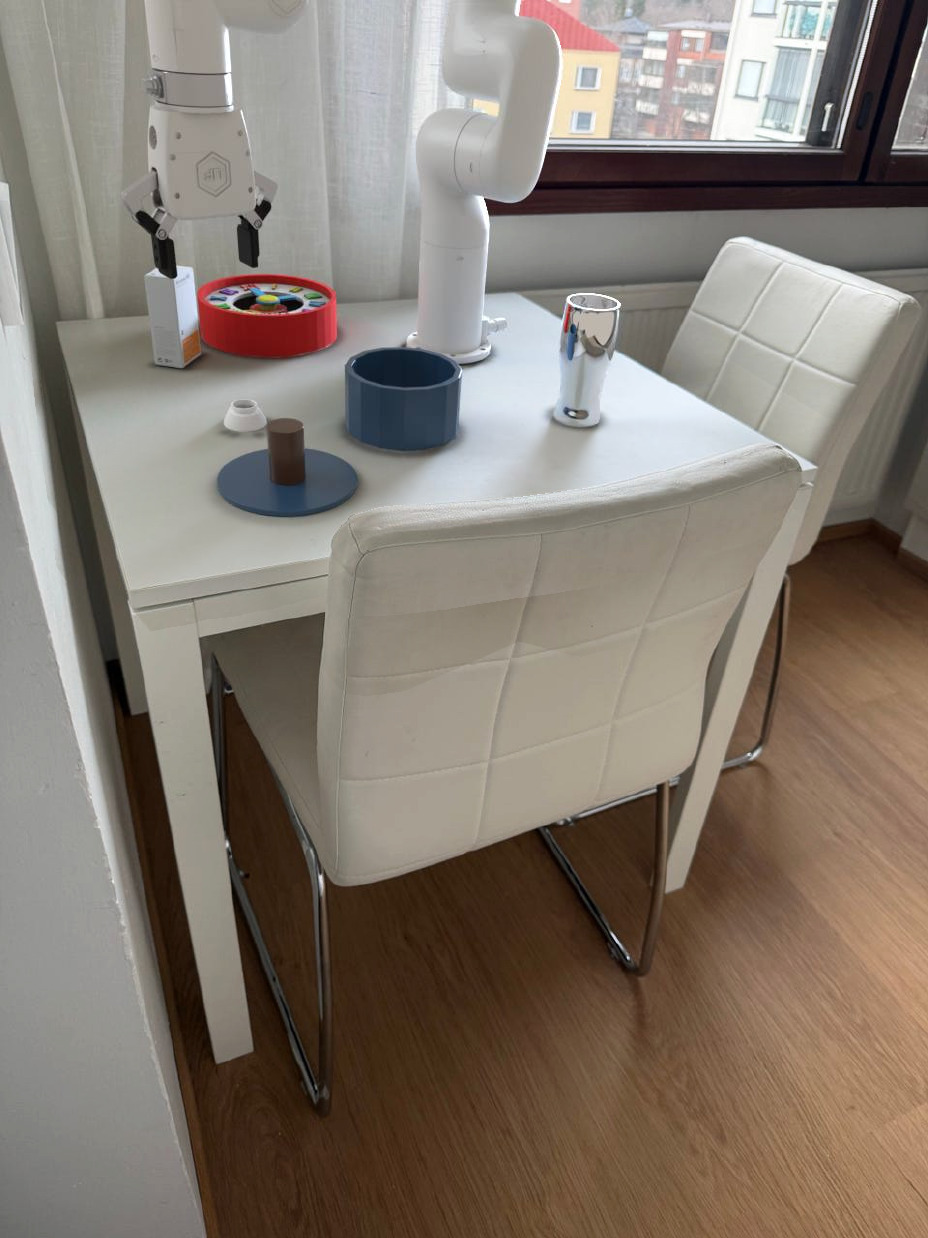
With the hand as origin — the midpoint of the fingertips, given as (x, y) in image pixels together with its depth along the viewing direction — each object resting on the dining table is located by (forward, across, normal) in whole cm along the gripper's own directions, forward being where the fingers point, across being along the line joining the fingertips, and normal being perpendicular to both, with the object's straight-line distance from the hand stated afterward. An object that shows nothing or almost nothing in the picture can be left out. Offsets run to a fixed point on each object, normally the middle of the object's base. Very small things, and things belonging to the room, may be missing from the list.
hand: (209, 269), depth 100 cm
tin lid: (+18, -2, -18) cm, 25 cm away
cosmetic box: (+18, +5, +22) cm, 29 cm away
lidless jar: (+18, +2, -2) cm, 18 cm away
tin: (+18, +17, -13) cm, 28 cm away
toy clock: (+18, +21, +25) cm, 37 cm away
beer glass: (+18, +39, -22) cm, 48 cm away
